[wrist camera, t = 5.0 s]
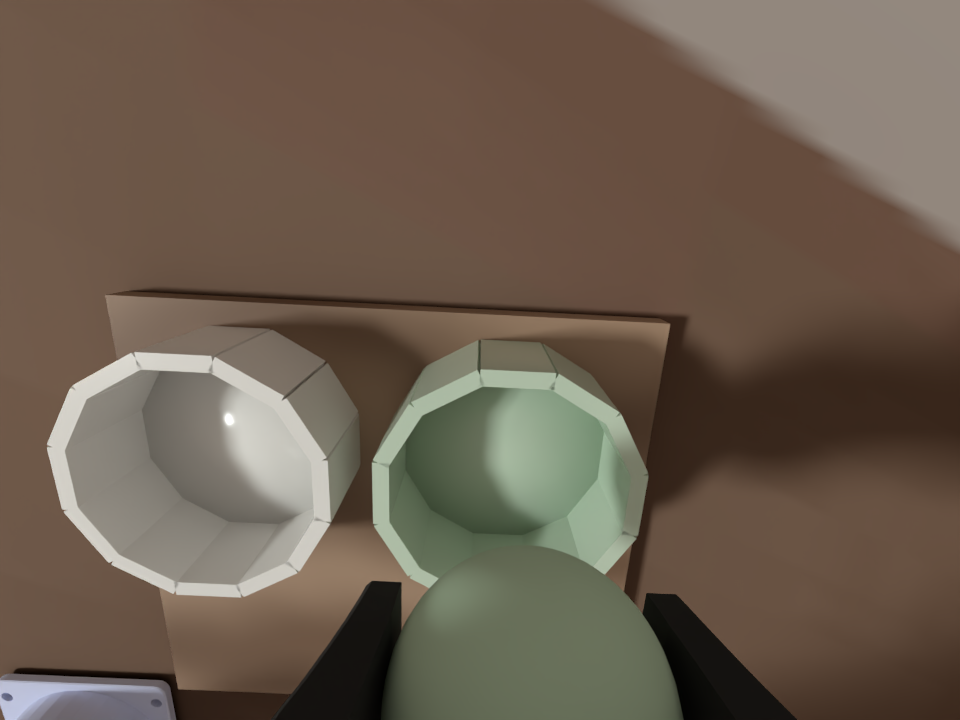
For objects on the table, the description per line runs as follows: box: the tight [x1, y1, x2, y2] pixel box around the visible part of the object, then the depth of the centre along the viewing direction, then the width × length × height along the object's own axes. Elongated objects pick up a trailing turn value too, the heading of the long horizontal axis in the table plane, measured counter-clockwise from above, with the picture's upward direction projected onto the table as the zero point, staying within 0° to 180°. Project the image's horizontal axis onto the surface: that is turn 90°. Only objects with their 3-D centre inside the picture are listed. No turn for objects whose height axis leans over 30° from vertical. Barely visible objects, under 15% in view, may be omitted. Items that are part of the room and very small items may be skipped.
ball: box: [381, 545, 684, 720], centre depth 8 cm, size 5×5×5 cm
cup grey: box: [47, 326, 361, 598], centre depth 15 cm, size 8×8×4 cm
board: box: [105, 291, 670, 694], centre depth 18 cm, size 18×20×1 cm
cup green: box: [372, 339, 649, 588], centre depth 15 cm, size 8×8×4 cm
